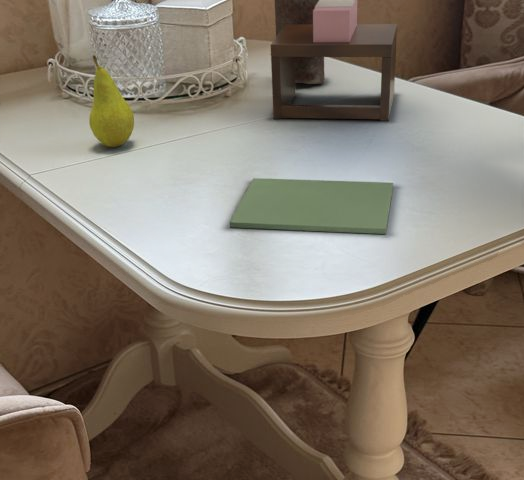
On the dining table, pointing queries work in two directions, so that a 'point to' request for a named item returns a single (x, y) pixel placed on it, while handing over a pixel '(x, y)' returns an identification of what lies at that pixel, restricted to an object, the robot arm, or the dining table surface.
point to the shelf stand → (301, 45)
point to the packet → (334, 21)
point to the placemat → (315, 206)
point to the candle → (300, 12)
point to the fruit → (109, 111)
